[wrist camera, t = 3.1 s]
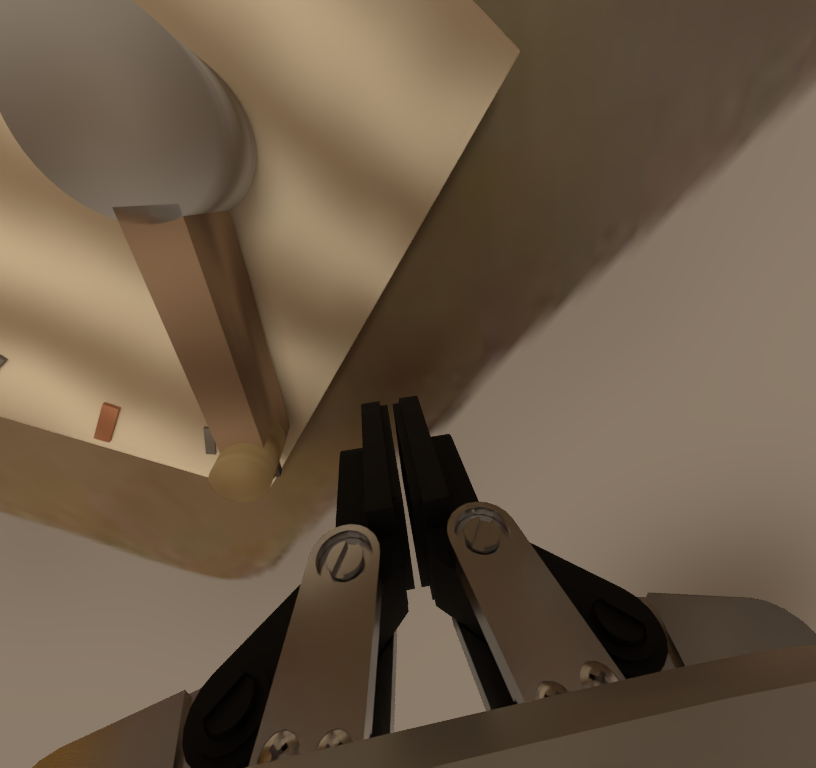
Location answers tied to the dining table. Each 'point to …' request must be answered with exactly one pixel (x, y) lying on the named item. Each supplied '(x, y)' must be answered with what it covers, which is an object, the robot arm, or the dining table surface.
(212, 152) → the lever
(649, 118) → the dining table surface
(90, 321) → the dial board
